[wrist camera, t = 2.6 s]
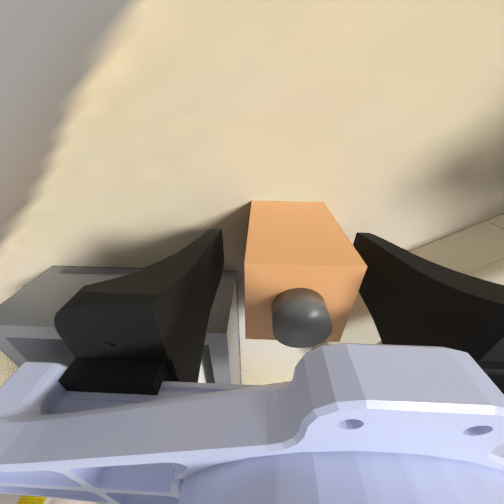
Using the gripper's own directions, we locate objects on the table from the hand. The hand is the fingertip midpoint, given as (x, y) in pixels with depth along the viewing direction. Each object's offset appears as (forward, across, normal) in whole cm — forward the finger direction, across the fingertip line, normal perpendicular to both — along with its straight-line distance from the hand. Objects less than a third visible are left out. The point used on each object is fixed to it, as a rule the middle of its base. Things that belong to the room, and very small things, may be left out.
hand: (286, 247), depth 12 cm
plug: (+2, 0, 0) cm, 2 cm away
